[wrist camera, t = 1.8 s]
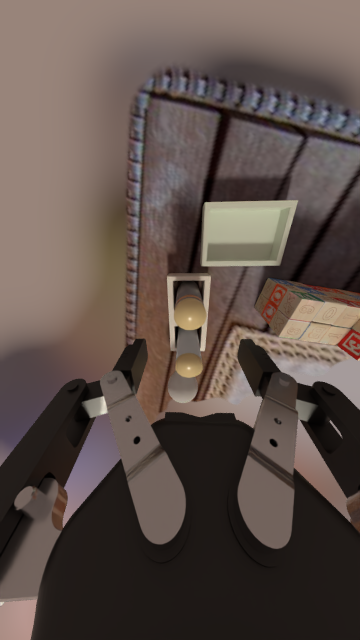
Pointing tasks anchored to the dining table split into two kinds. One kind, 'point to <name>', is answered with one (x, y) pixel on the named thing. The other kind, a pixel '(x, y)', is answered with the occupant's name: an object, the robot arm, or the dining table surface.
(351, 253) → the dining table surface
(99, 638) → the robot arm
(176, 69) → the dining table surface
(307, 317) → the stack of blocks
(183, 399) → the light bulb
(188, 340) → the fuse
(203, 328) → the tray
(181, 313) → the cylinder
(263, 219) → the parts tray
